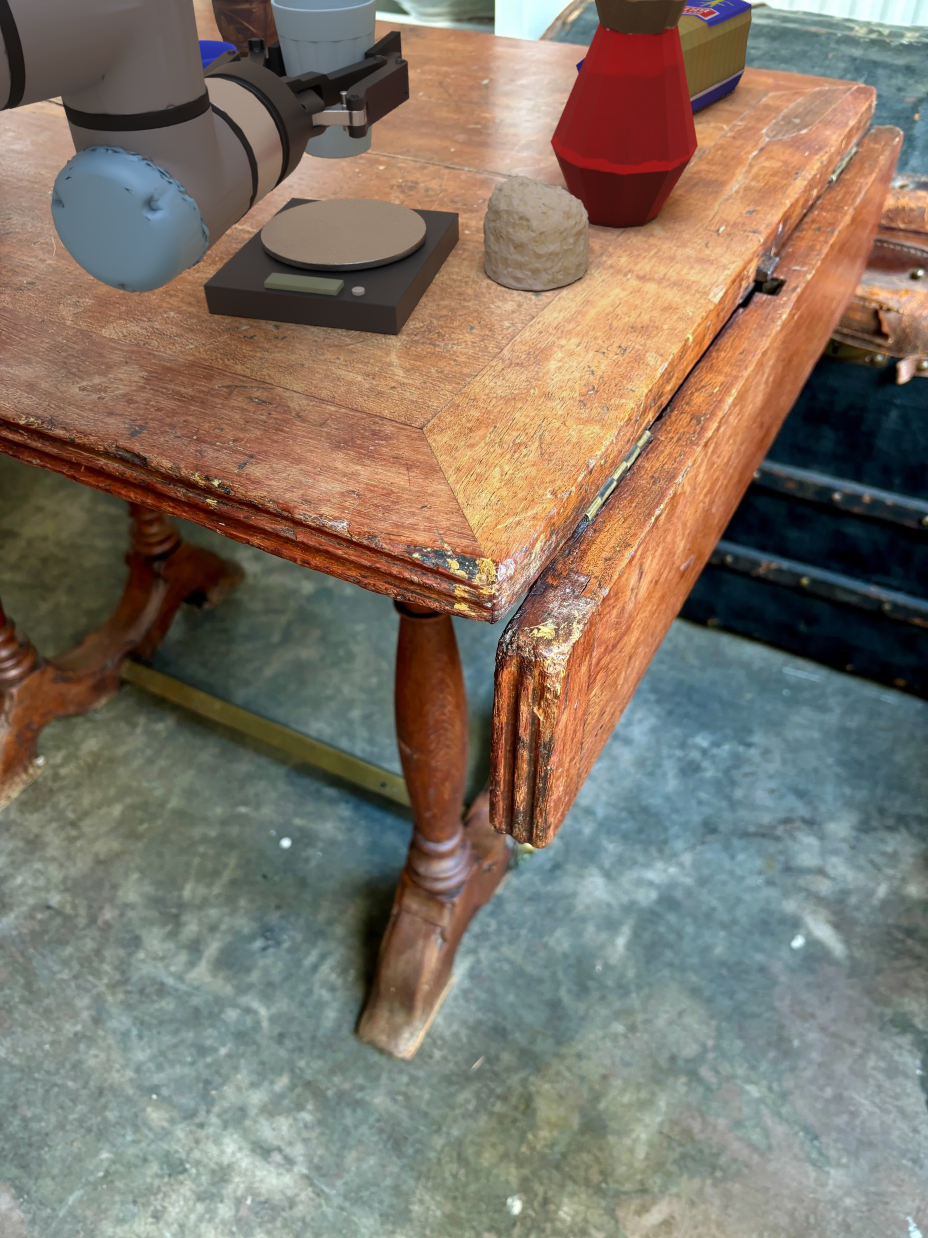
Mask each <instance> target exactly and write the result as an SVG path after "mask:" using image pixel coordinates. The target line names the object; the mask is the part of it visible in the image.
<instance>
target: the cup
mask: <svg viewBox="0 0 928 1238" xmlns="http://www.w3.org/2000/svg"><path fill="white" fill-rule="evenodd" d="M271 6H272V10H273V15H274V20H275V24H276V29H277V33H278V37H279V42H280V46H281V51H282V56H283V60H284V65H285V70H286V74H287V76H288V77H295V76H298V75H301V74H304V73H307V72H310V71H313V72H318V73H323V74H327V73H330V72H333V71H335V70H338V69H341V68H344V67H346V66H349V65H352V64H355V63H357V62H360V61H363V60H365V52H366V51H367V50H368V49H370V48H371V47H373V46H374V45H375V44H376V20H377V19H376V17H377V0H271ZM372 134H373V125H371V126H370V127H369V128H368V132H367V135H366V136H365V137H362V138H359V139H356V138H352V137H349V132H345V131H344V130H343V126H329V127H328V128H327V129H326V131H325V132H324V133H323V134H321V135H319V136H316V137H313V138H311V139H309V141H308V143H307V146H306V149H305V151H304V154H307V155H309V156H311V157H313V158H319V159H328V160H336V159H339V160H340V159H347V158H354V157H357V156H361V155H363V154H365V153H367V152H368V151H369V150H370V149H371V148H372V139H373V138H372V137H373V136H372Z"/></svg>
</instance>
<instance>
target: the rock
mask: <svg viewBox="0 0 928 1238" xmlns="http://www.w3.org/2000/svg"><path fill="white" fill-rule="evenodd" d="M587 217H588V213H587V211H586V210H585V208H584V206H583V203H582V202H581V200H579V199H577V198H575V197H574V195H571V194H570V192H569V191H567V190H566V189H563V187H562V186H561V185H551V184H549V183H548V182H546V181H543V180H542V179H539V178H533V179H530V178H529V177H528V176H527V175H525V174H524V175H518V176H515V177H513V178H509V179H507V180H505V181H504V182H500V183H496V184H495V186H494V189H493V190H492V193H491V195H490V196H489V198H488V201H487V210H486V212H485V214H484V217H483V223H482V230H483V246H484V251H483V256H484V265H483V269H484V270H485V272H486V275H487V276H489V278H490V279H491V280H492V281H494V282H496V283H497V284H500V285H502V286H503V287H507V288H510V289H513V290H521V291H536V292H539V291H547V290H552V289H556V288H560V287H564V286H567V285H569V284H572V283H574V282H576V281H577V280H578V279H580V278H582V277H584V276H583V275H585V273H586V272H587V271H588V269H589V267H590V237H591V233H590V229H589V225H590V222H589V221H588V218H587ZM586 270H587V271H586ZM575 280H576V281H575Z"/></svg>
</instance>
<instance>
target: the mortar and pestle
mask: <svg viewBox="0 0 928 1238" xmlns="http://www.w3.org/2000/svg"><path fill="white" fill-rule="evenodd" d="M211 6H212V11H213V16H214V20H215V24H216V26H217V30H218V32H219V34H220V36H221V39H222V42H227V43H230V44H232V45H234V46H235V47H236V48H237V51H239V52H240V58H243V57H248V55H249V47H248V39H252V38H262V39H264V45H265V49H266V48H267V47H268V46H270V45H271V44H273V43H274V42H276V41H277V40H279V37H278V33H277V29H276V24H275V20H274V15H273V10H272V6H271V0H211Z"/></svg>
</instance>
